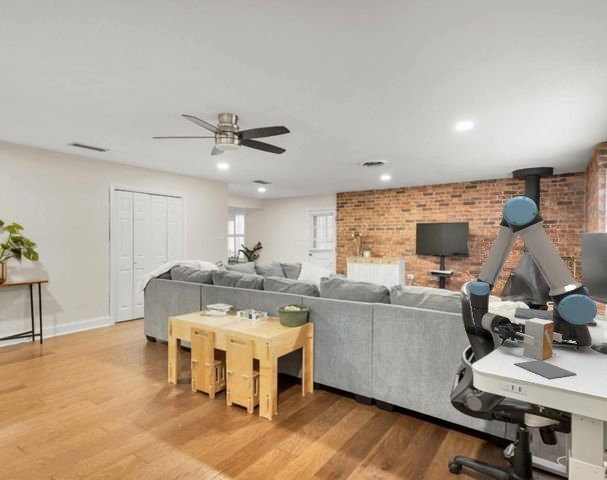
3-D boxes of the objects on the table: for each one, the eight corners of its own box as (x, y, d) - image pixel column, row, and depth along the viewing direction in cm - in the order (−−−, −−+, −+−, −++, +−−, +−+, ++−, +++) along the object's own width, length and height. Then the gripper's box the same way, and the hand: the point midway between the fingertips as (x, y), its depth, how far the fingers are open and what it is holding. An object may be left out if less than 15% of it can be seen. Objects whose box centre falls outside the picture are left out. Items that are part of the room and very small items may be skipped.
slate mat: (540, 361, 123) (540, 360, 123) (576, 375, 111) (576, 373, 111) (514, 364, 119) (514, 363, 119) (549, 379, 107) (549, 378, 107)
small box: (542, 361, 123) (544, 324, 122) (522, 355, 128) (524, 320, 128) (552, 356, 127) (554, 321, 127) (533, 351, 132) (535, 317, 132)
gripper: (519, 330, 149) (571, 347, 128) (472, 335, 141) (520, 353, 120) (520, 313, 148) (572, 327, 128) (473, 316, 140) (521, 331, 120)
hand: (547, 339), depth 124 cm, fingers open, 13 cm apart
